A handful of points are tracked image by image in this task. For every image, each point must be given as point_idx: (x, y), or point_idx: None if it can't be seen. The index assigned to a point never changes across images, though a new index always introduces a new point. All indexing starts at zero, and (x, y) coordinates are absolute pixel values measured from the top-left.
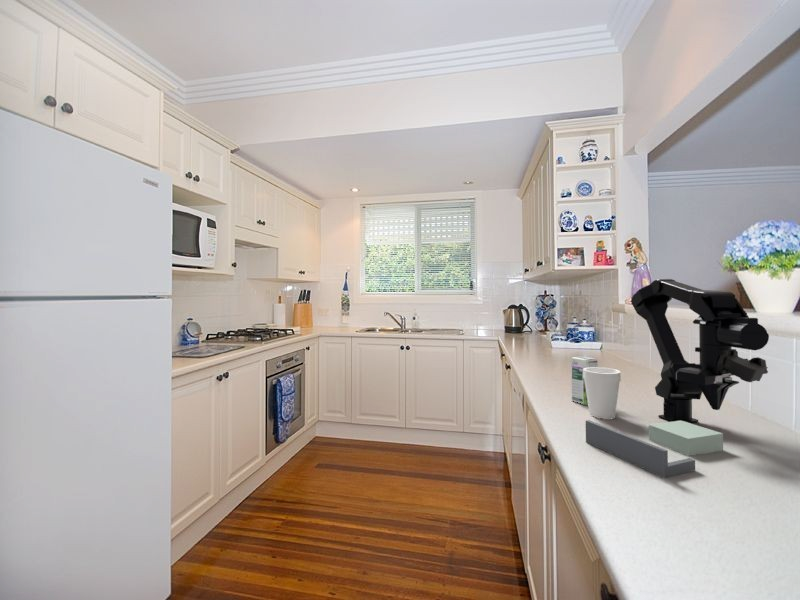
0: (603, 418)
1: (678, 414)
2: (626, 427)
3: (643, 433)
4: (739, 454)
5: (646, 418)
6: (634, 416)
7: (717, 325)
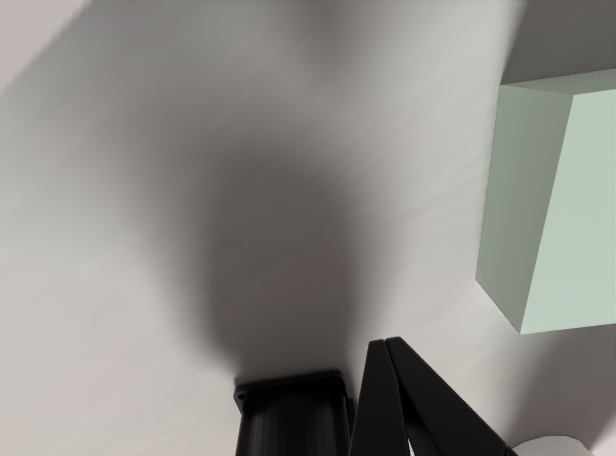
0: (577, 441)
1: (334, 423)
2: (595, 371)
3: None
4: (481, 11)
5: None
6: None
7: None
